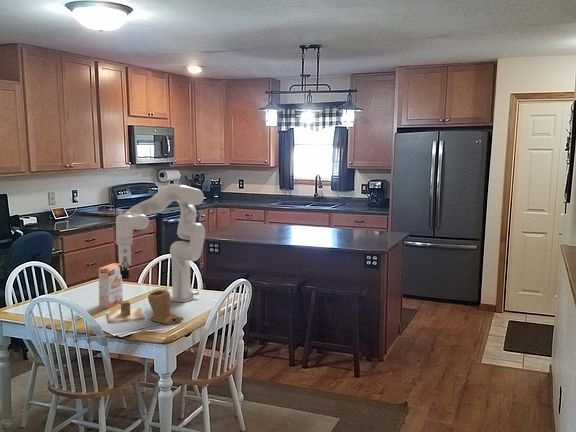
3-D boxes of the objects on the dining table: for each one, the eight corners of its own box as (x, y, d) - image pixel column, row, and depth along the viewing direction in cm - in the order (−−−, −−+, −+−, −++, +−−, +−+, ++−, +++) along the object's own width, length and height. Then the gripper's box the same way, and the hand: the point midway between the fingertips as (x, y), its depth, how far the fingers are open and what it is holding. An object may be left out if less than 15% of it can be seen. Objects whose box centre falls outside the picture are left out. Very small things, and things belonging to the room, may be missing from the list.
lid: (140, 309, 262) (140, 296, 261) (144, 319, 247) (144, 305, 246) (107, 313, 256) (106, 299, 255) (109, 323, 241) (108, 308, 240)
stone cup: (143, 321, 246) (142, 290, 244) (163, 316, 255) (163, 285, 253) (163, 329, 236) (163, 296, 235) (184, 322, 246) (184, 291, 244)
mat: (142, 310, 263) (142, 309, 263) (147, 321, 247) (147, 319, 247) (104, 314, 257) (104, 312, 256) (106, 325, 240) (106, 324, 240)
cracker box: (109, 309, 264) (108, 268, 261) (98, 308, 265) (97, 268, 262) (123, 302, 277) (122, 263, 275) (113, 301, 278) (112, 262, 276)
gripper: (134, 243, 242) (134, 280, 244) (131, 238, 258) (131, 272, 260) (117, 243, 239) (117, 280, 241) (114, 238, 255) (115, 273, 257)
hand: (124, 276), depth 250 cm, fingers open, 9 cm apart
